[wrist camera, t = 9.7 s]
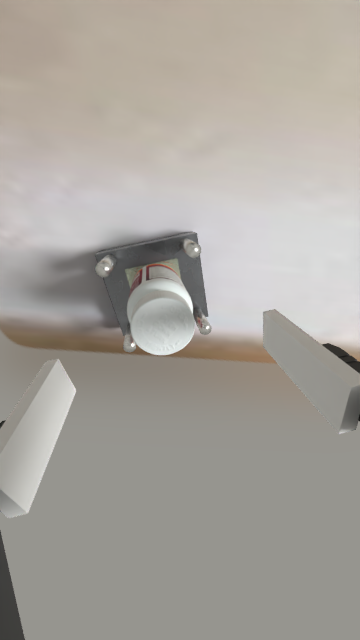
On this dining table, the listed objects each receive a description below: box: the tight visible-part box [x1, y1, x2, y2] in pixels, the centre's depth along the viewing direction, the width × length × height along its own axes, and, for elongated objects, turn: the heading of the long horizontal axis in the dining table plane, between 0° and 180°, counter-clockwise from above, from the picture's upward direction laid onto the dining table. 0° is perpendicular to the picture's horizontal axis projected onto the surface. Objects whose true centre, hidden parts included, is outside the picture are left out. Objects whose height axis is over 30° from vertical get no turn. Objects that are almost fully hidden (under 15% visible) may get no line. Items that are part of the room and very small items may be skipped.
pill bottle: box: [127, 263, 195, 355], centre depth 22 cm, size 6×6×11 cm
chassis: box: [95, 232, 211, 352], centre depth 26 cm, size 11×12×8 cm
